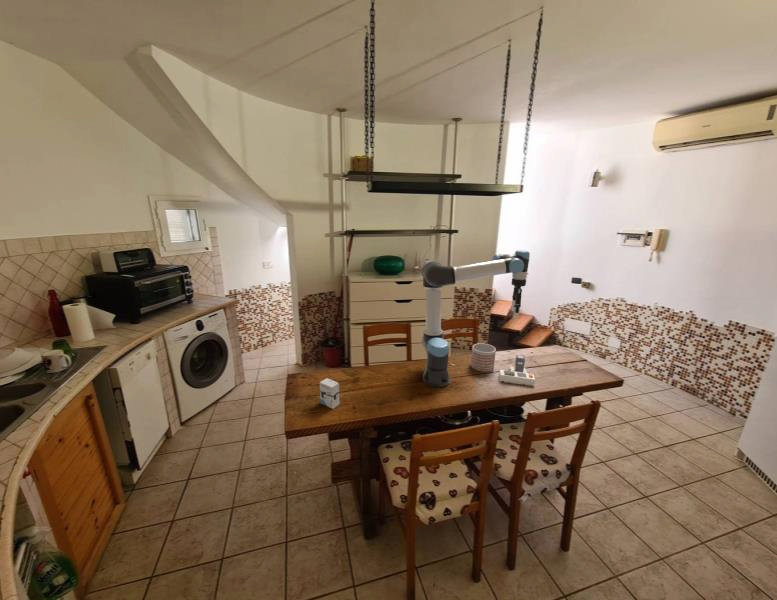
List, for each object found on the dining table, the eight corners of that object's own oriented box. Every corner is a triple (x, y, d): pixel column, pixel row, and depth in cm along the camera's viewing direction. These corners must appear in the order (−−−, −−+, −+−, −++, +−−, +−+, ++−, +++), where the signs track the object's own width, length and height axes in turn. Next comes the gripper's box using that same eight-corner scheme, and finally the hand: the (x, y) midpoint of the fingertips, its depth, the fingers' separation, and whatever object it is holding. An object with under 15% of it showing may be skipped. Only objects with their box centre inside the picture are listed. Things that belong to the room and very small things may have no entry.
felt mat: (511, 374, 191) (511, 373, 191) (509, 367, 200) (510, 366, 200) (527, 376, 189) (527, 375, 189) (525, 369, 197) (525, 368, 197)
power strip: (499, 381, 183) (500, 373, 182) (499, 375, 189) (499, 368, 188) (534, 386, 179) (535, 378, 177) (532, 380, 185) (533, 372, 183)
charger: (515, 372, 193) (517, 357, 190) (514, 368, 197) (516, 354, 194) (523, 373, 192) (525, 358, 189) (522, 369, 196) (524, 355, 193)
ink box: (320, 403, 159) (319, 382, 156) (327, 398, 163) (326, 377, 160) (332, 409, 155) (332, 387, 152) (339, 404, 159) (339, 383, 156)
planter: (473, 360, 208) (474, 341, 205) (495, 364, 203) (497, 345, 199) (468, 369, 197) (470, 349, 193) (491, 374, 191) (494, 354, 187)
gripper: (529, 283, 170) (524, 321, 176) (523, 274, 193) (519, 308, 199) (514, 282, 172) (509, 320, 178) (510, 273, 195) (506, 307, 201)
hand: (514, 314), depth 188 cm, fingers open, 13 cm apart
